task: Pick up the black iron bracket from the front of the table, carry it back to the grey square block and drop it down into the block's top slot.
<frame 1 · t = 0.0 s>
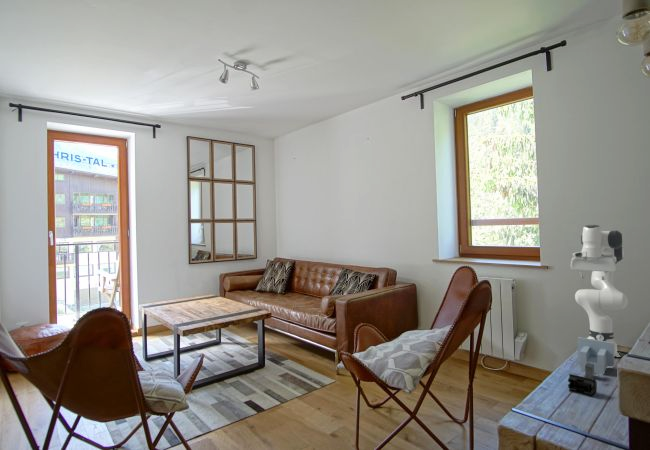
hand: (592, 279, 200), 48 cm above the table, tool pointing down, fingers open, 8 cm apart
end cap: (582, 392, 165), on the table
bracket: (589, 377, 183), on the table
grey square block: (593, 369, 194), on the table
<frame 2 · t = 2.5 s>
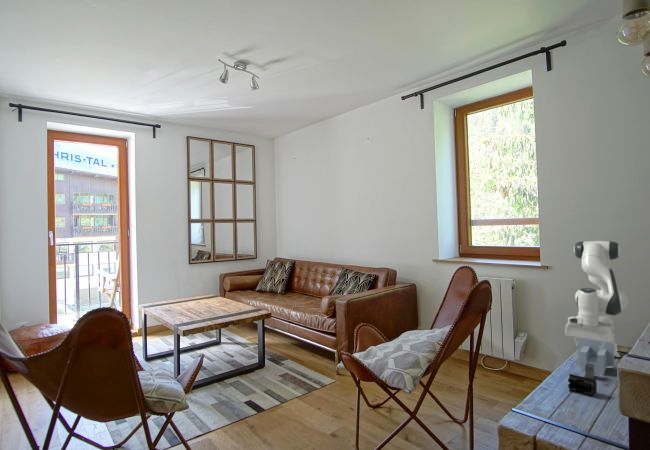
hand: (589, 348, 184), 15 cm above the table, tool pointing down, fingers open, 8 cm apart
nothing on the table moved.
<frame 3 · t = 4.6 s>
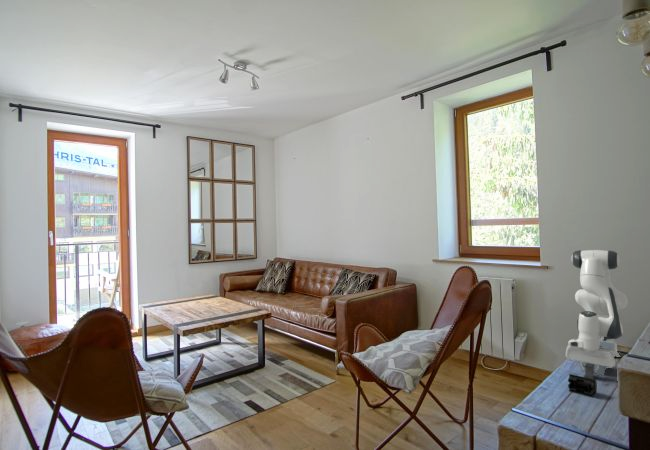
hand: (589, 371, 184), 3 cm above the table, tool pointing down, fingers closed on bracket, 3 cm apart
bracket: (589, 377, 184), on the table, touching gripper
everything else where it was.
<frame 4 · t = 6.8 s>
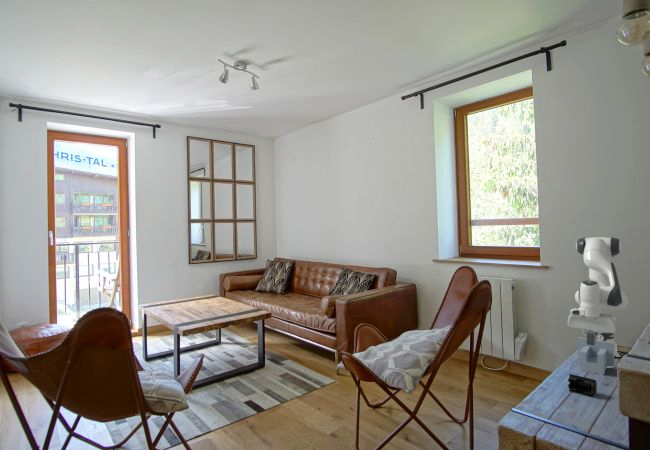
hand: (591, 338, 190), 18 cm above the table, tool pointing down, fingers closed on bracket, 3 cm apart
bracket: (591, 343, 190), point 15 cm above the table, touching gripper
everything else where it was.
when the fingers open (11 cm above the table, at t = 9.1 s): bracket drops 3 cm, resting on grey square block.
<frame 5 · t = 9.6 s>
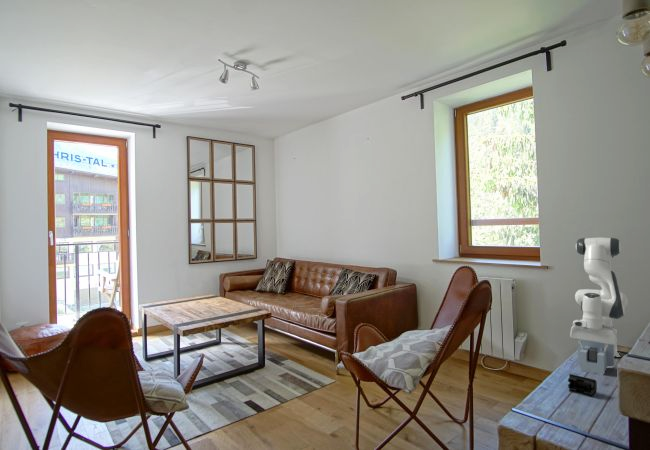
hand: (593, 349, 194), 11 cm above the table, tool pointing down, fingers open, 8 cm apart
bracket: (593, 360, 194), point 5 cm above the table, touching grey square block
everything else where it was.
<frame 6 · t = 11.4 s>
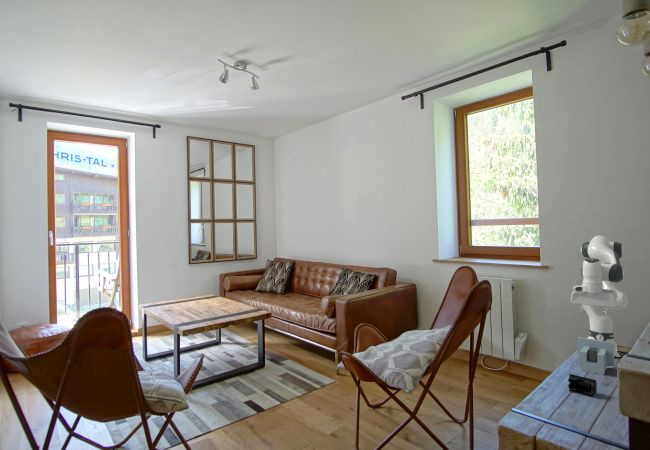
hand: (593, 313, 198), 29 cm above the table, tool pointing down, fingers open, 8 cm apart
nothing on the table moved.
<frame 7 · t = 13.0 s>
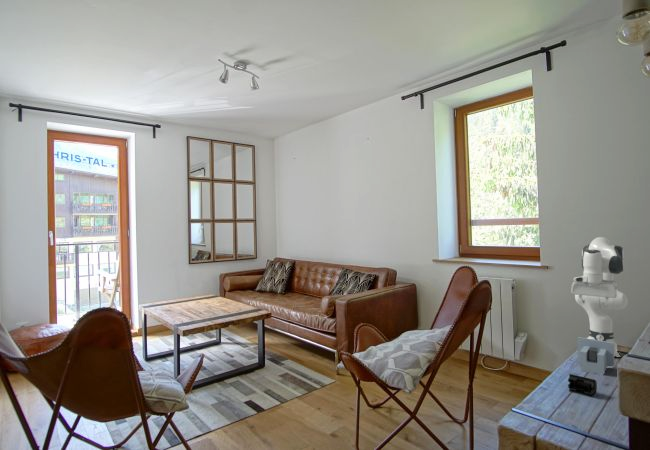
hand: (593, 304, 199), 34 cm above the table, tool pointing down, fingers open, 8 cm apart
nothing on the table moved.
at the end: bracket 0.1 cm off-centre on the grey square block, point 5.0 cm above the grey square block's base; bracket tilted 0°; the gripper is holding nothing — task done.
